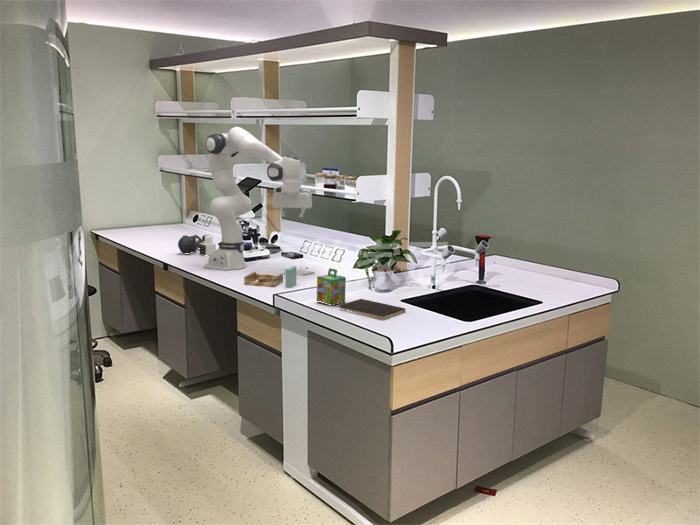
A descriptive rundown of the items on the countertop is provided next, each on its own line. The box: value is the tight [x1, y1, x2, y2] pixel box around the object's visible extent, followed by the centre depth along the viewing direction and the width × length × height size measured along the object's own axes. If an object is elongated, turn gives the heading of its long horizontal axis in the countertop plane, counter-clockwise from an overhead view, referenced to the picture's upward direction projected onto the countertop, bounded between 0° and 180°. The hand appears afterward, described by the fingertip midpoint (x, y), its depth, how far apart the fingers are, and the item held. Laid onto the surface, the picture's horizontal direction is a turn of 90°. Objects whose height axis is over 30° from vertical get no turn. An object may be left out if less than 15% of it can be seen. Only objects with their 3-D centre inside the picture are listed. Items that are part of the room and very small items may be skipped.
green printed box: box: [316, 268, 347, 306], centre depth 268 cm, size 9×9×15 cm
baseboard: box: [280, 267, 315, 276], centre depth 320 cm, size 31×3×12 cm
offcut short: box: [258, 277, 271, 282], centre depth 297 cm, size 5×4×2 cm
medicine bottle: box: [199, 234, 217, 256], centre depth 373 cm, size 7×7×12 cm
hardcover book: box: [337, 298, 406, 321], centre depth 258 cm, size 16×23×2 cm
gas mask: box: [177, 234, 203, 254], centre depth 381 cm, size 14×9×25 cm
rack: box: [243, 271, 284, 288], centre depth 299 cm, size 15×11×5 cm
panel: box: [284, 265, 297, 289], centre depth 294 cm, size 8×2×9 cm, turn 164°
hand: (292, 216), depth 310 cm, fingers open, 8 cm apart
